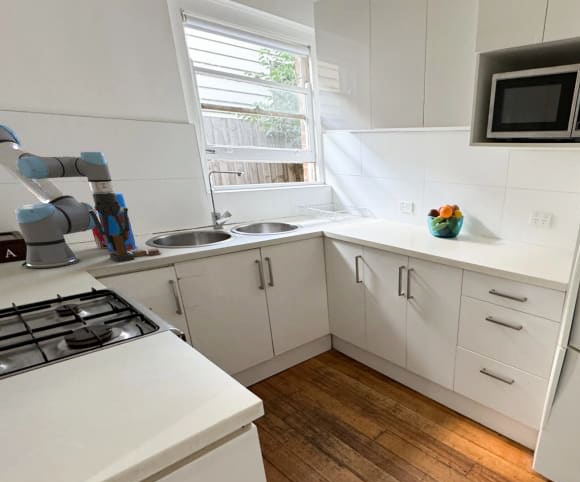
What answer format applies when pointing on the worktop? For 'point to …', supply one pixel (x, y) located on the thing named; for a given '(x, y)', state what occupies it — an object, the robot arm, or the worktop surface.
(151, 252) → the cork chip
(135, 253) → the cork chip
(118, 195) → the thermos
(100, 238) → the soda can
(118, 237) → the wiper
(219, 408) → the worktop surface
